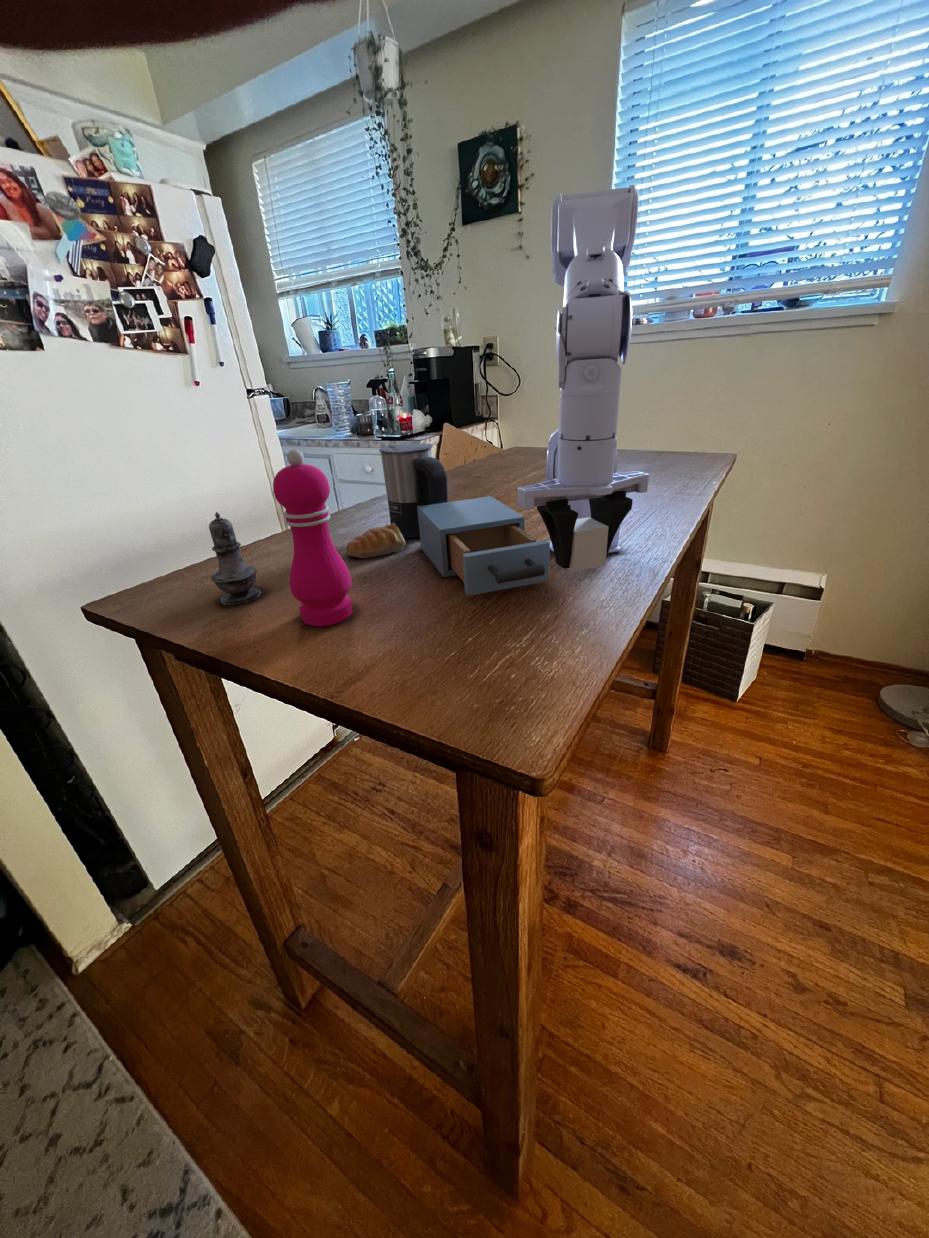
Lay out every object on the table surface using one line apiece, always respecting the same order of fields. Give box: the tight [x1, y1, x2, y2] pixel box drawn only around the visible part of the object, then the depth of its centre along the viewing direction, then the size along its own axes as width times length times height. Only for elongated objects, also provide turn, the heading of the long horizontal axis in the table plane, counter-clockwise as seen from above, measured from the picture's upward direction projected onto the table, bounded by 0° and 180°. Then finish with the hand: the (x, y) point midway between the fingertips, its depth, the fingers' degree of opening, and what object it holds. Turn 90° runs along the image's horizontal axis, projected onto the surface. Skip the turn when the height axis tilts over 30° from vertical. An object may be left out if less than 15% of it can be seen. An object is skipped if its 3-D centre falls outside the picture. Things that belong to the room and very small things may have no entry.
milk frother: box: [378, 442, 449, 539], centre depth 90 cm, size 14×16×15 cm
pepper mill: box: [272, 449, 354, 627], centre depth 58 cm, size 7×7×20 cm
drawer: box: [445, 524, 551, 597], centre depth 67 cm, size 17×11×5 cm
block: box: [568, 517, 608, 572], centre depth 56 cm, size 4×4×4 cm
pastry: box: [346, 523, 406, 559], centre depth 82 cm, size 9×7×4 cm
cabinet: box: [417, 495, 526, 578], centre depth 77 cm, size 14×13×7 cm
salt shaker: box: [208, 511, 262, 606], centre depth 67 cm, size 6×6×12 cm
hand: (580, 562), depth 57 cm, fingers closed on block, 4 cm apart
